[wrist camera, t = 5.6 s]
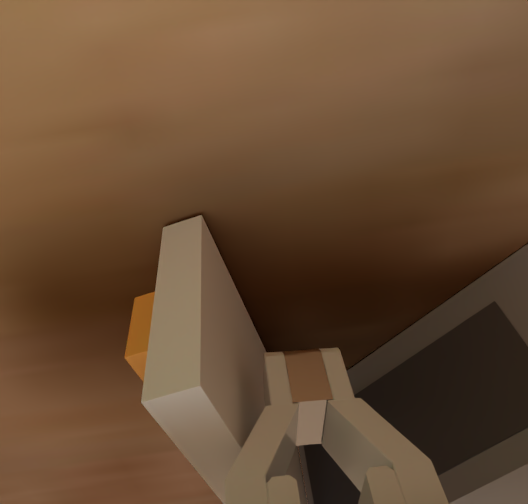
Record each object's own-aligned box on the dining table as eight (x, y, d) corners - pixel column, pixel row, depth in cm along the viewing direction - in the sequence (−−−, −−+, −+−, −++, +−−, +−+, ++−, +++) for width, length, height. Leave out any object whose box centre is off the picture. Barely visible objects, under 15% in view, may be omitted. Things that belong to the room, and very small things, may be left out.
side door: (137, 235, 14) (102, 413, 9) (201, 214, 14) (200, 385, 9) (248, 421, 20) (262, 586, 15) (293, 409, 20) (321, 572, 15)
